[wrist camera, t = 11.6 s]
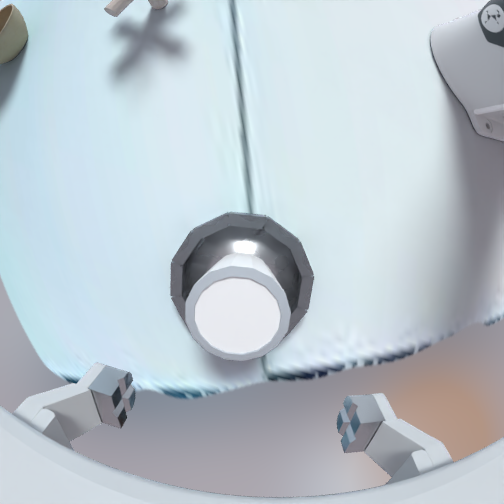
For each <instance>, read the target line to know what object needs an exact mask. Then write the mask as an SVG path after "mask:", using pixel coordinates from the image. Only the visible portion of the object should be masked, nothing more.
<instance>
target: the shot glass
mask: <svg viewBox="0 0 504 504" xmlns="http://www.w3.org/2000/svg"><path fill="white" fill-rule="evenodd" d="M290 315H291V311H290V307H289V304H288V300H287V296H286V293H285V292H284V290H283V289H282V287H281V286H280V284H279V283H278V281H277V279H276V278H275V276H274V275H273V273H272V272H271V270H270V269H269V267H268V266H267V265H266V264H265V263H264V261H263V260H262V259H260V258H258V257H256V256H254V255H252V254H251V253H241V252H236V253H233V254H230V255H226V256H224V257H223V258H222V259H221V260H220V261H218V262H217V263H216V264H215V265H214V266H213V267H212V268H211V269H210V270H209V271H208V272H207V273H206V274H205V275H204V276H202V277H201V278H200V279H199V280H198V281H197V282H196V283H195V284H194V286H193V288H192V290H191V292H190V294H189V296H188V298H187V300H186V307H185V321H186V323H187V326H188V328H189V330H190V333H191V335H192V337H193V338H194V340H195V341H196V342H197V343H198V344H200V345H201V346H202V347H203V348H204V349H205V350H206V351H207V352H209V353H211V354H214V355H216V356H218V357H220V358H222V359H227V360H237V361H245V360H250V359H254V358H258V357H262V356H263V355H265V354H266V353H268V352H269V351H271V350H272V349H274V348H275V347H277V346H278V345H279V343H280V342H281V340H282V339H283V337H284V336H285V334H286V333H287V331H288V327H289V321H290Z"/></svg>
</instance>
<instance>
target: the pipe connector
mask: <svg viewBox="0 0 504 504" xmlns="http://www.w3.org/2000/svg"><path fill="white" fill-rule="evenodd" d="M132 1H133V0H112V1H111V2H110V3H109V4H108V5H107V6H106V7H105V8H104V10H105V11H106V12H107V13H108V14H110V15H112V16H114V17H117V16H118V15H119V14H120V13H121V12H122V11H123V10H124V9H125V8H126V7H127V6H128V5H129V4H130V3H131V2H132ZM148 1H149V3H150V4H151V6H152V8H153V9H161V8H163V7H165V6H166V5H167V3H168V0H148Z"/></svg>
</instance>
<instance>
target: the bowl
mask: <svg viewBox="0 0 504 504" xmlns="http://www.w3.org/2000/svg"><path fill="white" fill-rule="evenodd" d="M236 252H241V253H251V254H252V255H254V256H256V257H258V258H260V259H262V260H263V261H264V263H265V264H266V265H267V266H268V267H269V269H270V270H271V272H272V273H273V275H274V276H275V278H276V279H277V281H278V283H279V284H280V286H281V287H282V289H283V290H284V292H285V293H286V296H287V300H288V304H289V307H290V311H291V315H290V321H289V327H288V331H287V333H286V334H285V336H287V335H288V334H289V332H290V331H291V330H292V329H293V328H294V327H295V325H296V324H297V323H298V322H299V321H300V320H301V318H302V317H303V316H304V315H305V314H306V312H307V310H306V309H308V308H309V303H310V297H311V291H312V286H313V280H314V276H313V275H314V274H313V271H312V269H311V266H310V264H309V261H308V259H307V256H306V254H305V251H304V249H303V246H302V244H301V242H300V241H299V239H298V238H297V237H295V236H294V235H293V234H291V233H290V232H289V231H287V230H286V229H285V228H283V227H282V226H281V225H279V224H278V223H277V222H275V221H274V220H272V219H271V218H270V217H266V215H258V214H248V213H238V212H230V213H228V212H227V213H225V214H223V215H221V216H219V217H217V218H214V219H212V220H210V221H208V222H206V223H204V224H202V225H200V226H198V227H196V228H194V229H193V230H192V231H190V233H189V234H188V236H187V237H186V239H185V241H184V242H183V244H182V245H181V247H180V248H179V250H178V251H177V253H176V254H175V256H174V258H173V259H172V262H171V296H172V298H171V299H172V301H173V302H174V304H175V306H176V308H177V310H178V311H179V313H180V315H181V317H182V318H183V320H184V322H185V324H186V325H187V323H186V321H185V307H186V300H187V298H188V296H189V294H190V292H191V290H192V288H193V286H194V284H195V283H196V282H197V281H198V280H199V279H200V278H201V277H202V276H204V275H205V274H206V273H207V272H208V271H209V270H210V269H211V268H212V267H213V266H214V265H215V264H216V263H217V262H218V261H220V260H221V259H222V258H223V257H224V256H226V255H230V254H233V253H236ZM187 327H188V326H187ZM283 338H284V337H283Z"/></svg>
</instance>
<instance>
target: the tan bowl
mask: <svg viewBox="0 0 504 504" xmlns="http://www.w3.org/2000/svg"><path fill="white" fill-rule="evenodd" d="M27 38H28V32H27V27H26V24H25V21H24V19H23V16H22V15H21V13H20V12H19V10H18V9H17V8H16V7H15V6H14V5H13V4H9V5H7V6H5V7H4V8H2V9H1V10H0V64H2V63H6V62H8V61H11V60H13V59H14V58H15V57H16V56H17V55H18V54H19V53H20V51H21V50H22V48H23V47H24V45H25V43H26V41H27Z"/></svg>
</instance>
